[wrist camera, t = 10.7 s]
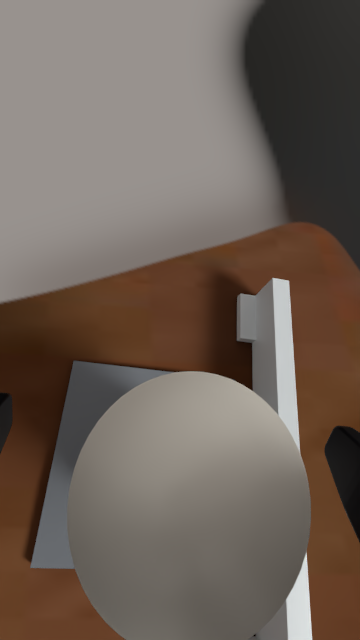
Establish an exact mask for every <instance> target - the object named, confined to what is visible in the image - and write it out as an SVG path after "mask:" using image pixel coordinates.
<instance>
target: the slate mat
mask: <svg viewBox="0 0 360 640" xmlns="http://www.w3.org/2000/svg"><path fill="white" fill-rule="evenodd" d="M170 373H175V372H166V371H158V370H149V369H141V368H132V367H124V366H115V365H107V364H98V363H90V362H81V361H74V362H73V367H72V371H71V376H70V381H69V386H68V390H67V395H66V400H65V405H64V410H63V414H62V419H61V424H60V429H59V433H58V438H57V443H56V448H55V453H54V457H53V462H52V467H51V472H50V476H49V481H48V486H47V491H46V496H45V500H44V505H43V510H42V515H41V519H40V524H39V529H38V534H37V539H36V543H35V548H34V553H33V558H32V562H31V567H30V568H65V569H75V567H74V563H73V559H72V556H71V552H70V547H69V539H68V531H67V505H68V497H69V488H70V484H71V480H72V476H73V471H74V468H75V465H76V462H77V460H78V457H79V454H80V452H81V449H82V448H83V446H84V444H85V442H86V440H87V438H88V436H89V434H90V433H91V431H92V430H93V428H94V427H95V425H96V424H97V422H98V421H99V419H100V418H101V417H102V416H103V415H104V413H105V412H106V411H107V410H108V409H109V408H110V407H111V406H112V405H113V404H114V403H115V402H116V401H117V400H118V399H119V398H121V397H122V396H123V395H125V394H126V393H127V392H129V391H130V390H132V389H133V388H135V387H136V386H138V385H140V384H142V383H144V382H146V381H148V380H151V379H153V378H156V377H159V376H161V375H166V374H170ZM232 380H234V381H235V379H232Z"/></svg>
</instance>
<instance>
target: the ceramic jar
mask: <svg viewBox="0 0 360 640" xmlns="http://www.w3.org/2000/svg"><path fill="white" fill-rule="evenodd" d="M310 522H311V501H310V492H309V484H308V479H307V475H306V471H305V466H304V464H303V461H302V458H301V455H300V452H299V450H298V447H297V445H296V443H295V441H294V439H293V437H292V435H291V433H290V432H289V430H288V428H287V427H286V425H285V424H284V422H283V421H282V420H281V418H280V417H279V416H278V414H277V413H276V412H275V411H274V410H273V409H272V408H271V407H270V406H269V405H268V403H267V402H266V401H265V400H263V399H262V398H261V397H260V396H258V395H257V394H256V393H255V392H253V391H252V390H250V389H249V388H247V387H245V386H244V385H242V384H240V383H238V382H236V381H234V380H232V379H230V378H226V377H223V376H220V375H217V374H212V373H207V372H196V371H186V372H175V373H170V374H166V375H161V376H159V377H156V378H153V379H151V380H148V381H146V382H144V383H142V384H140V385H138V386H136V387H135V388H133V389H132V390H130V391H129V392H127V393H126V394H125V395H123V396H122V397H121V398H119V399H118V400H117V401H116V402H115V403H114V404H113V405H112V406H111V407H110V408H109V409H108V410H107V411H106V412H105V413H104V415H103V416H102V417H101V418H100V419H99V421H98V422H97V424H96V425H95V427H94V428H93V430H92V431H91V433H90V434H89V436H88V438H87V440H86V442H85V444H84V446H83V448H82V449H81V452H80V454H79V457H78V460H77V462H76V465H75V468H74V471H73V476H72V480H71V484H70V488H69V497H68V505H67V531H68V539H69V547H70V552H71V556H72V559H73V563H74V567H75V570H76V573H77V575H78V578H79V580H80V583H81V585H82V588H83V590H84V591H85V593H86V595H87V597H88V598H89V600H90V602H91V604H92V605H93V607H94V608H95V609H96V611H97V612H98V613H99V614H100V616H101V617H102V618H103V619H104V621H105V622H106V623H107V624H108V625H109V626H110V627H111V628H113V629H114V630H115V631H116V632H117V633H118V634H119V635H120V636H122V637H123V638H125V639H126V640H248V639H249V638H251V637H252V636H253V635H255V634H256V633H258V632H259V631H260V630H261V629H262V628H263V627H264V626H265V625H266V624H267V623H268V622H269V621H270V620H271V619H272V618H273V617H274V615H275V614H276V613H277V612H278V610H279V609H280V608H281V606H282V605H283V604H284V602H285V600H286V599H287V597H288V595H289V594H290V592H291V590H292V589H293V587H294V584H295V582H296V580H297V578H298V575H299V573H300V571H301V568H302V564H303V561H304V558H305V555H306V550H307V545H308V540H309V534H310Z"/></svg>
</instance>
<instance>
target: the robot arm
mask: <svg viewBox="0 0 360 640" xmlns="http://www.w3.org/2000/svg"><path fill="white" fill-rule="evenodd" d="M11 425H12V397H11V395H10V394H9V393H1V392H0V453H1V451H2V448H3V446H4V443H5V441H6V438H7V436H8V434H9V431H10V428H11ZM325 456H326V459H327V462H328V464H329V467H330V470H331V473H332V476H333V478H334V481H335V484H336V487H337V490H338V493H339V495H340V498H341V501H342V503H343V506H344V509H345V511H346V513H347V516H348V518H349V520H350V522H351V524H352V527H353V529H354V531H355V533H356V535H357V538H358V540H359V542H360V433H359V432H358V431H356V430H355V429H353V428H351V427H347V426H336V427H335V428H334V429H333V431H332V433H331V435H330V437H329V439H328V441H327V443H326V445H325Z"/></svg>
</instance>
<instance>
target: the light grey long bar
mask: <svg viewBox="0 0 360 640" xmlns="http://www.w3.org/2000/svg"><path fill="white" fill-rule="evenodd" d="M237 341H241V342H248V343H252V379H253V392H255V393H256V394H257V395H258V396H260V397H261V398H262V399H263V400H265V401H266V402H267V403H268V405H269V406H270V407H271V408H272V409H273V410H274V411H275V412H276V413H277V414H278V416H279V417H280V418H281V420H282V421H283V422H284V424H285V425H286V427H287V428H288V430H289V432H290V433H291V435H292V437H293V439H294V441H295V443H296V445H297V447H298V450H299V452H300V445H299V430H298V414H297V399H296V383H295V368H294V352H293V337H292V322H291V306H290V291H289V281H288V280H282V279H276V278H272V279H271V280H270V281H269V282H268V283H267V284H266V285H265V286H264V287H263V288H262V289H261V290H260V291H259V293H258V294H257V295H256V296H253V295H247V294H241V293H240V295H239V296H238V297H237ZM248 640H312V630H311V615H310V599H309V584H308V568H307V553H306V555H305V558H304V561H303V564H302V568H301V571H300V573H299V575H298V578H297V580H296V582H295V584H294V587H293V589H292V590H291V592H290V594H289V595H288V597H287V599H286V600H285V602H284V604H283V605H282V606H281V608H280V609H279V610H278V612H277V613H276V614H275V615H274V617H273V618H272V619H271V620H270V621H269V622H268V623H267V624H266V625H265V626H264V627H263V628H262V629H261V630H260V631H259V632H258V633H256V636H252V637H251V638H249V639H248Z"/></svg>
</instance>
